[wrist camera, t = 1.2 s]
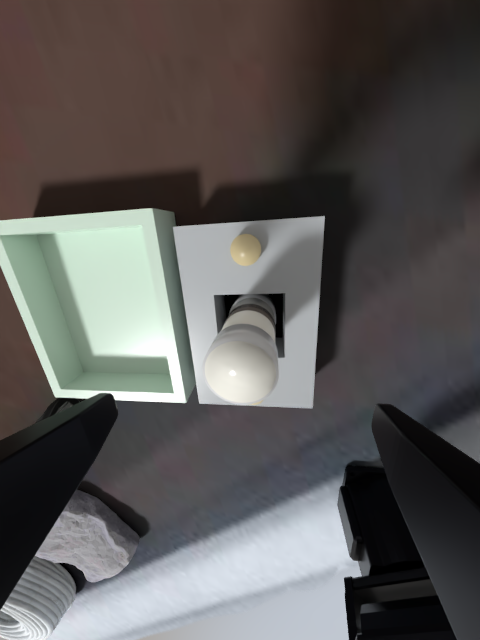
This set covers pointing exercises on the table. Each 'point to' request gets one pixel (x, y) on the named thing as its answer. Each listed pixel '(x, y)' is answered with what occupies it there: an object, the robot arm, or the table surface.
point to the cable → (37, 601)
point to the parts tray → (102, 302)
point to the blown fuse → (244, 352)
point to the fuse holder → (255, 278)
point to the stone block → (90, 538)
